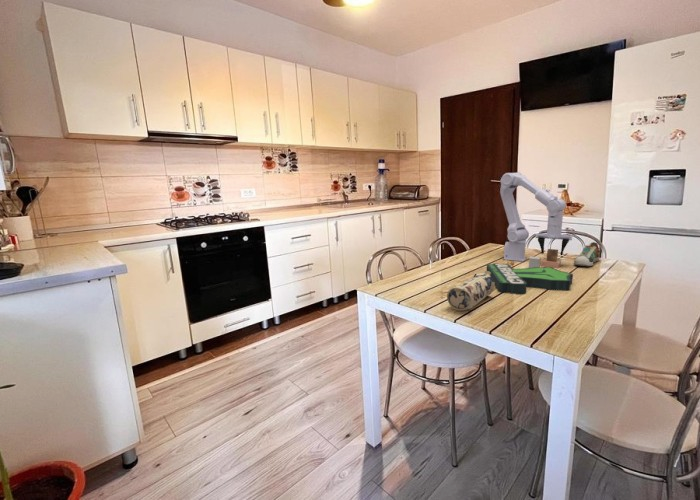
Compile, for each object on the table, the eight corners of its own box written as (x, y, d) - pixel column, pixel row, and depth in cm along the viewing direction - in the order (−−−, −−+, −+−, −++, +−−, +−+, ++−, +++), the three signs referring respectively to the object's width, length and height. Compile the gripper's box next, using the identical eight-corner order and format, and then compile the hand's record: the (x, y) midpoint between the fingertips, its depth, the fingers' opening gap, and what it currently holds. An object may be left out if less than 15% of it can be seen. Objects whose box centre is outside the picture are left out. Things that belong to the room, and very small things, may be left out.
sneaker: (569, 266, 158) (571, 246, 156) (583, 258, 171) (585, 239, 169) (588, 269, 152) (591, 248, 150) (601, 260, 166) (603, 241, 164)
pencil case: (472, 292, 129) (473, 268, 127) (495, 297, 123) (496, 271, 121) (444, 310, 114) (445, 282, 112) (469, 316, 108) (470, 287, 106)
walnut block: (546, 260, 159) (547, 250, 158) (547, 259, 162) (548, 248, 161) (556, 261, 156) (557, 251, 155) (557, 260, 160) (558, 249, 159)
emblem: (485, 263, 155) (557, 264, 149) (485, 272, 156) (557, 273, 149) (500, 283, 126) (591, 285, 120) (500, 294, 127) (589, 297, 121)
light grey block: (528, 268, 157) (529, 258, 156) (530, 266, 160) (530, 256, 159) (538, 269, 155) (539, 259, 153) (539, 267, 158) (540, 257, 157)
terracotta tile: (540, 267, 160) (541, 260, 159) (544, 263, 165) (544, 257, 164) (557, 269, 155) (558, 262, 155) (560, 265, 161) (561, 259, 160)
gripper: (535, 225, 157) (533, 254, 160) (572, 227, 149) (569, 257, 152) (537, 223, 163) (535, 251, 166) (573, 225, 154) (570, 254, 157)
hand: (551, 254), depth 159 cm, fingers open, 7 cm apart
